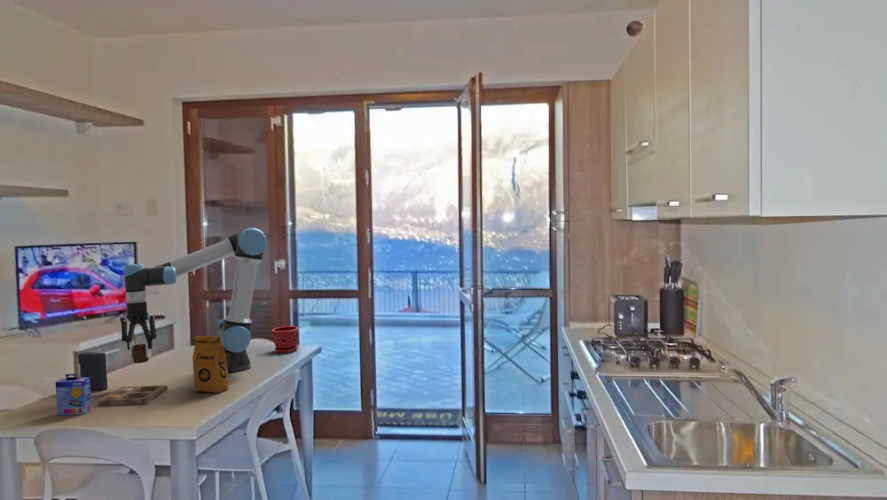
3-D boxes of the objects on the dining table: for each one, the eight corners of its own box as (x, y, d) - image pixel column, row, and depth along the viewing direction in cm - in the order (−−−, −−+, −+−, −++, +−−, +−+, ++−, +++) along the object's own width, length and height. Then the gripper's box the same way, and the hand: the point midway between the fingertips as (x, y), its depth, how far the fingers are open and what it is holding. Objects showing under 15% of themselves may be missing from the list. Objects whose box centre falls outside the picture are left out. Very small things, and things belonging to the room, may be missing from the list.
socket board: (167, 390, 262) (167, 384, 262) (146, 404, 242) (146, 397, 242) (122, 391, 262) (122, 386, 262) (97, 406, 242) (96, 399, 242)
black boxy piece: (109, 388, 268) (107, 352, 267) (100, 391, 263) (98, 354, 263) (88, 387, 271) (86, 351, 270) (79, 390, 267) (77, 353, 266)
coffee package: (217, 395, 252) (215, 338, 251) (190, 393, 256) (187, 337, 255) (233, 388, 262) (230, 333, 261) (206, 387, 265) (203, 333, 264)
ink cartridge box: (56, 416, 230) (53, 375, 230) (64, 411, 236) (61, 371, 235) (85, 414, 231) (83, 373, 231) (92, 409, 237) (90, 370, 236)
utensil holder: (141, 363, 266) (138, 334, 265) (129, 363, 268) (127, 334, 267) (152, 360, 271) (150, 331, 270) (140, 359, 273) (138, 331, 273)
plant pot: (274, 349, 341) (273, 326, 340) (300, 348, 342) (299, 325, 341) (271, 354, 328) (270, 330, 327) (297, 353, 329) (296, 329, 328)
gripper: (108, 304, 264) (113, 360, 265) (155, 301, 265) (160, 358, 266) (117, 301, 272) (121, 356, 273) (163, 299, 272) (167, 354, 273)
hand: (140, 357), depth 269 cm, fingers closed on utensil holder, 6 cm apart
